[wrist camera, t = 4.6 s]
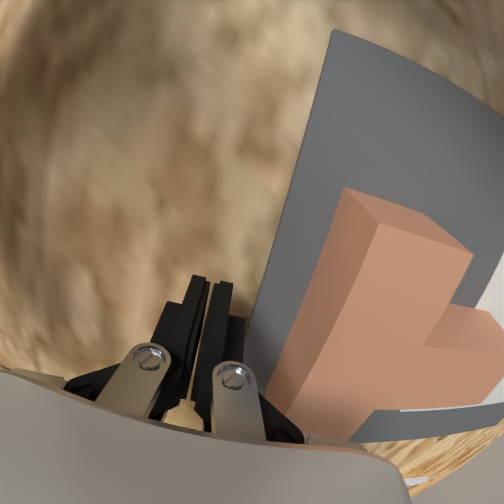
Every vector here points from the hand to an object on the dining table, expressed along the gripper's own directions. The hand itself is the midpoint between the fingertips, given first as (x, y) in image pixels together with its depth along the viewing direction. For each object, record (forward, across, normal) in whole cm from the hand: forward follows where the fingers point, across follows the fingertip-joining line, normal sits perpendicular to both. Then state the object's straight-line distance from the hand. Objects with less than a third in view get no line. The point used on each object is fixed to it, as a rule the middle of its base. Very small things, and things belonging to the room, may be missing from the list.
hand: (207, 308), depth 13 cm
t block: (+1, -10, 0) cm, 10 cm away
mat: (+2, -18, 0) cm, 18 cm away
